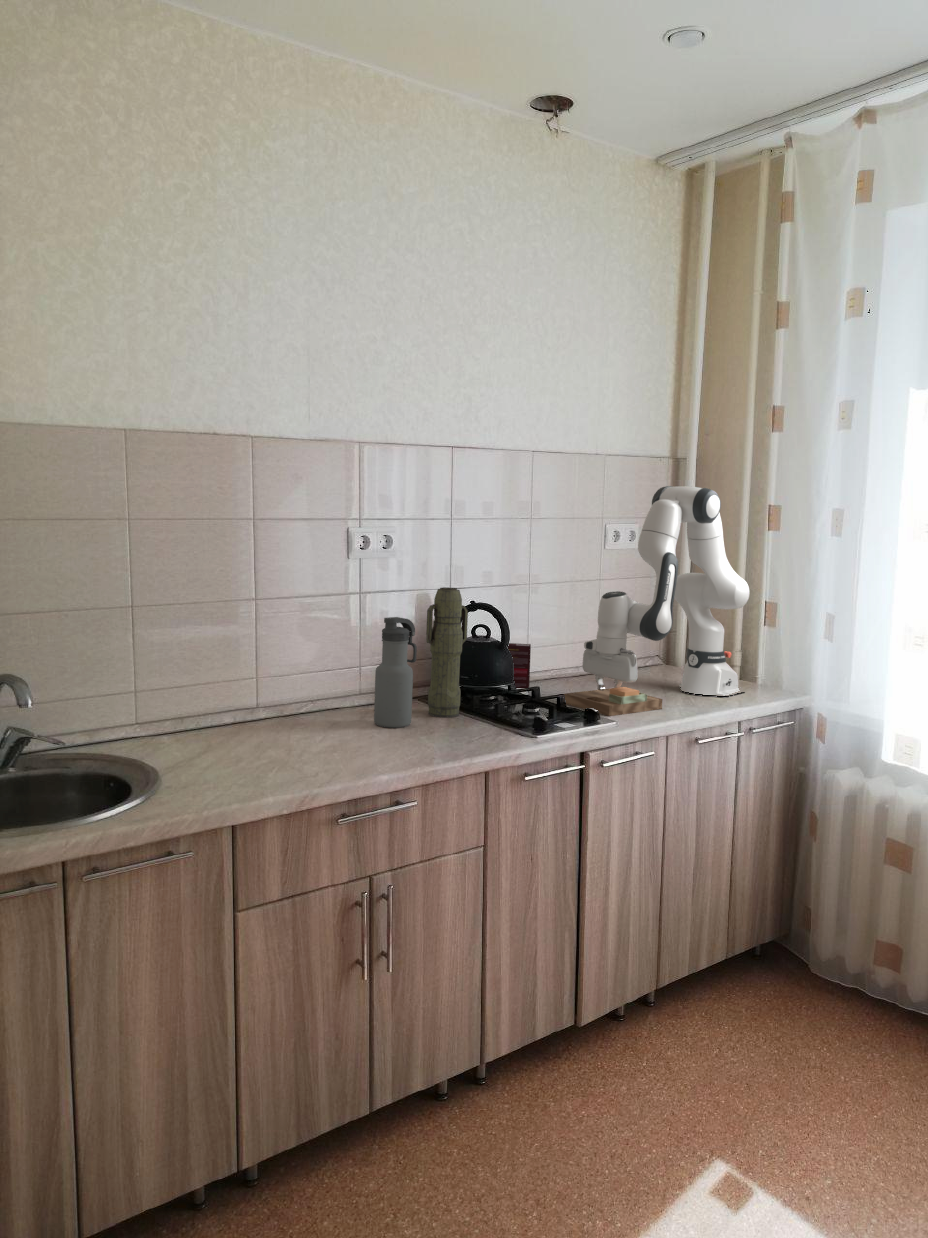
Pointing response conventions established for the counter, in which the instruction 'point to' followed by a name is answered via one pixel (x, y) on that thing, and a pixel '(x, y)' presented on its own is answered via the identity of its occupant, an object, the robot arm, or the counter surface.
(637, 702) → the board
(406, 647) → the water bottle
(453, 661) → the thermos
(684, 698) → the counter surface
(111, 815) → the counter surface
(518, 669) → the supplement box
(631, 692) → the block
